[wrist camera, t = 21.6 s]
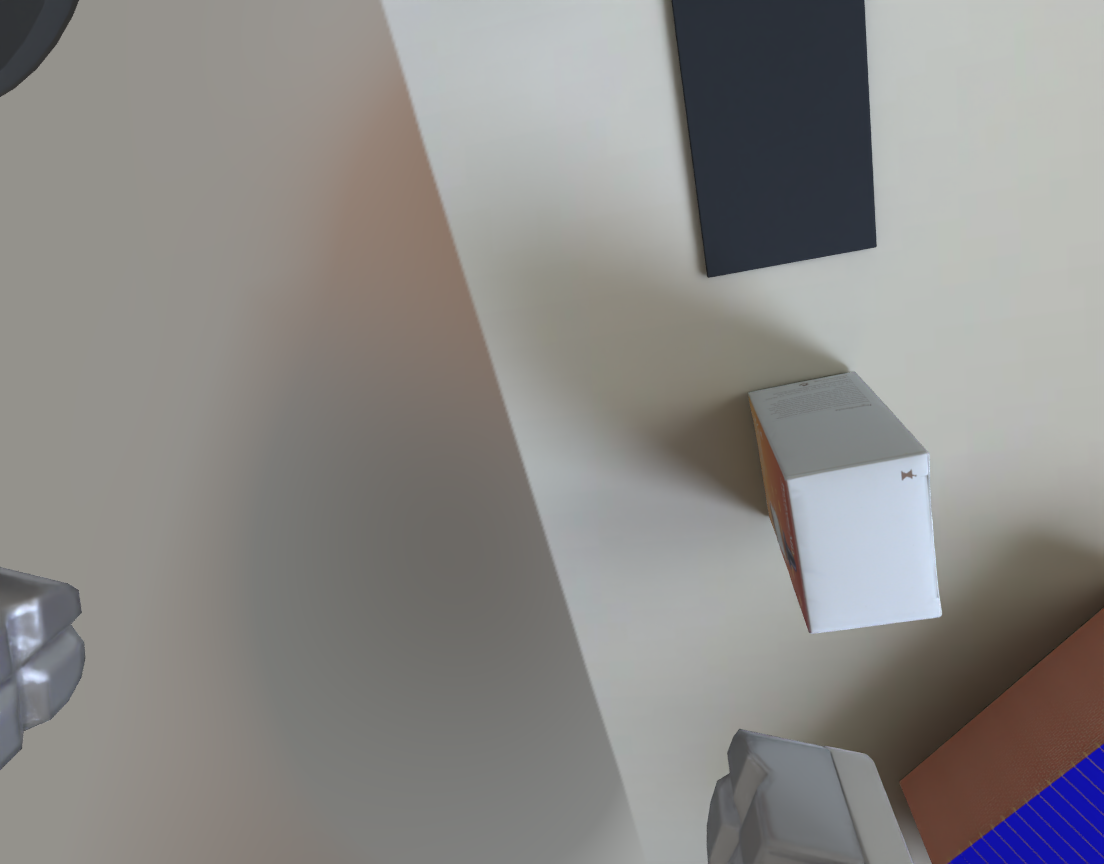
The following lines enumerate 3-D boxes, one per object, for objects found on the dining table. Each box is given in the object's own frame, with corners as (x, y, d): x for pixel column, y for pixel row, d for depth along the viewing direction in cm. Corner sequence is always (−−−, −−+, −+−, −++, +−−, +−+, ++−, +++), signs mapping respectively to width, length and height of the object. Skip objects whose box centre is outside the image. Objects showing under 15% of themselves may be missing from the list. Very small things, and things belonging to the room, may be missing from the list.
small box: (746, 389, 39) (782, 474, 29) (856, 367, 38) (932, 448, 28) (767, 521, 42) (807, 639, 32) (871, 505, 41) (945, 621, 31)
